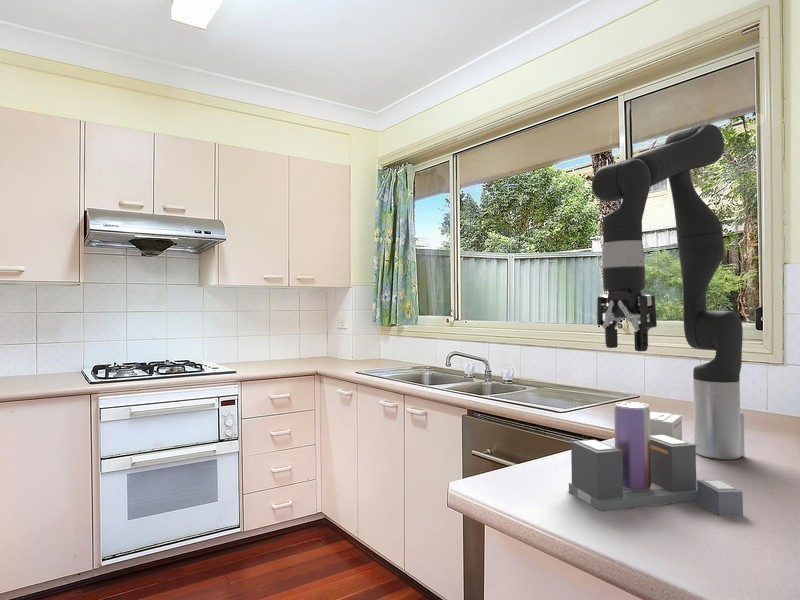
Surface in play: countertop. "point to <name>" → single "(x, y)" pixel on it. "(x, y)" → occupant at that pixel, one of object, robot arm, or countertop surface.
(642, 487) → the beverage can
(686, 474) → the grey u-shaped block
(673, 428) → the ink box
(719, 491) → the block
